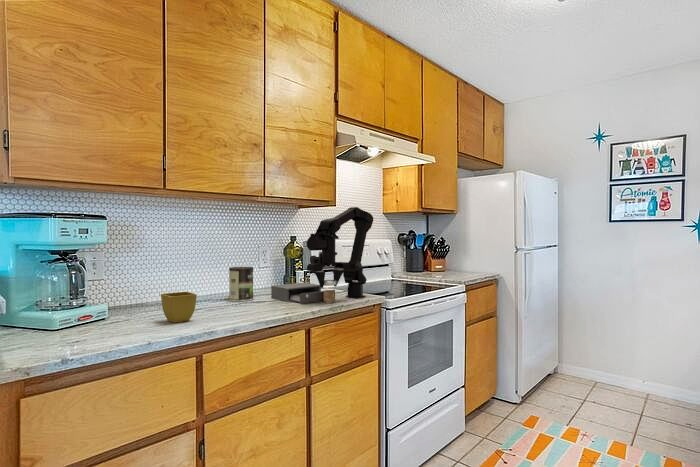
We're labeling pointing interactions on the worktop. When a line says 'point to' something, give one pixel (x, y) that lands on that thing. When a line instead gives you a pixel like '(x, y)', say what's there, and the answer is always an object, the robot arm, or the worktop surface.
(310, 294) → the tray
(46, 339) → the worktop surface
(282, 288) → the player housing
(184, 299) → the flower pot
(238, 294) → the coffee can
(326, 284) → the disc
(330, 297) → the oak stand
